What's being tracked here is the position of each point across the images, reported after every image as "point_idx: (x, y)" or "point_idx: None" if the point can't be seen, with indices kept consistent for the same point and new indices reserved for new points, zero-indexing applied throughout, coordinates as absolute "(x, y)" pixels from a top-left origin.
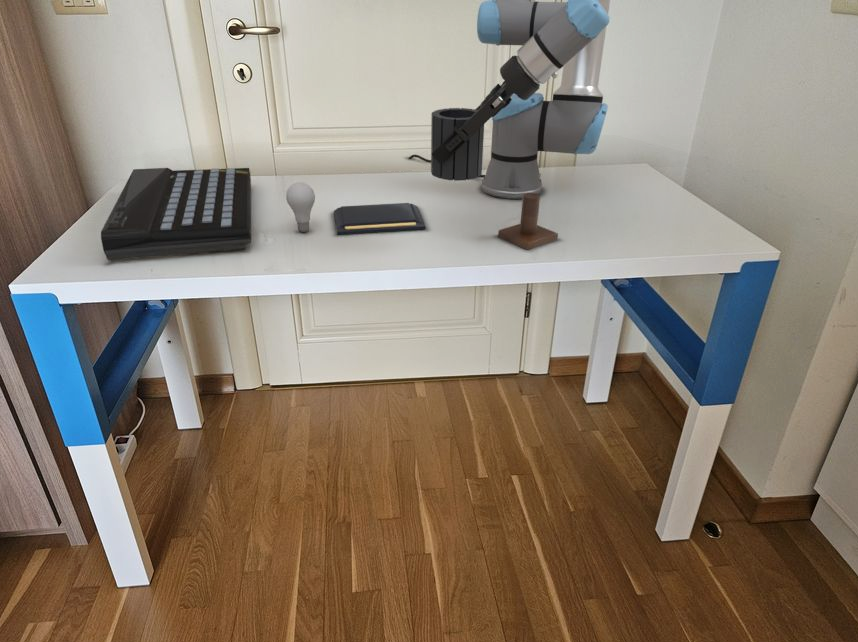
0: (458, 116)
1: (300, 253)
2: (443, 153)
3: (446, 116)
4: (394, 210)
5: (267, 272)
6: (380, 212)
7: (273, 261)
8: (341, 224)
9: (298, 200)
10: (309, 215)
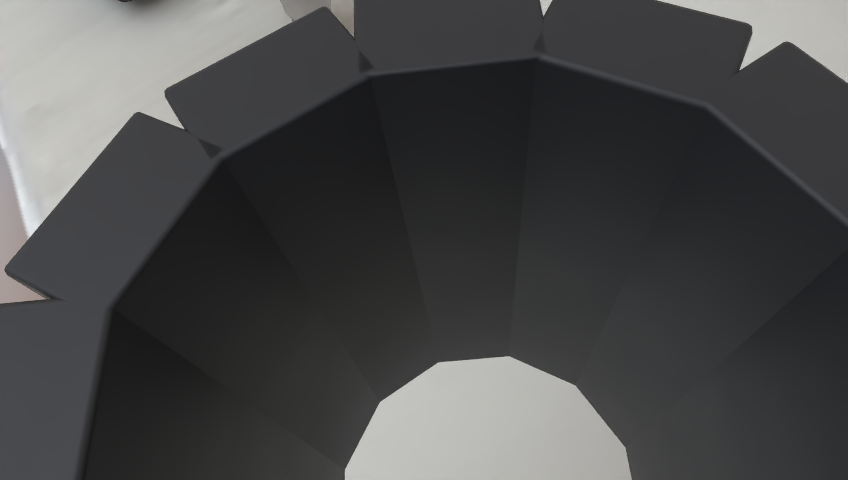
0: (780, 274)
1: (165, 116)
2: None
3: (604, 145)
4: None
5: (18, 122)
6: None
7: (91, 93)
8: None
9: None
10: (307, 8)
